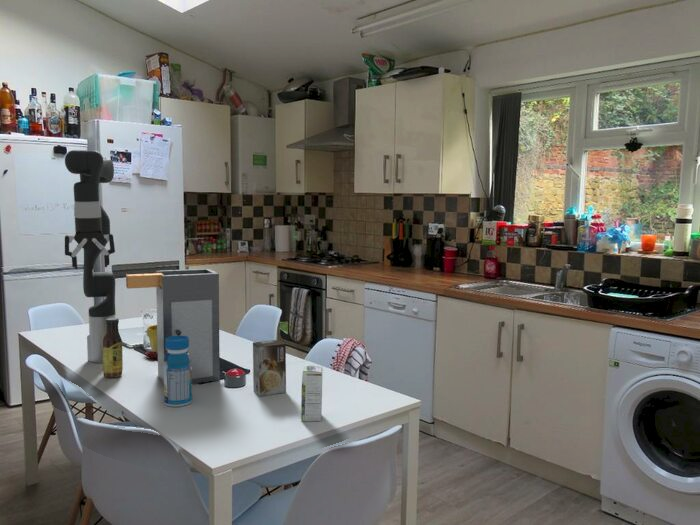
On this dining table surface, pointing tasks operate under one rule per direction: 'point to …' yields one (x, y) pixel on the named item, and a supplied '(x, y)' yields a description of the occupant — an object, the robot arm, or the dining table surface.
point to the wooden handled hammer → (145, 280)
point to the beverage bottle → (177, 372)
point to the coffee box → (269, 367)
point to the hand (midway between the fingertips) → (91, 267)
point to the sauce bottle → (112, 350)
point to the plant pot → (153, 337)
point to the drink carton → (311, 393)
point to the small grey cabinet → (190, 319)
